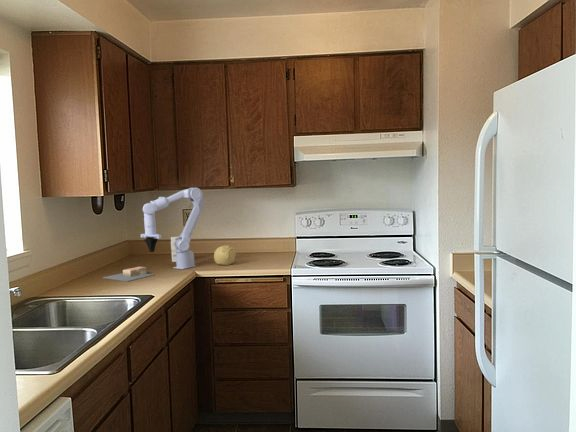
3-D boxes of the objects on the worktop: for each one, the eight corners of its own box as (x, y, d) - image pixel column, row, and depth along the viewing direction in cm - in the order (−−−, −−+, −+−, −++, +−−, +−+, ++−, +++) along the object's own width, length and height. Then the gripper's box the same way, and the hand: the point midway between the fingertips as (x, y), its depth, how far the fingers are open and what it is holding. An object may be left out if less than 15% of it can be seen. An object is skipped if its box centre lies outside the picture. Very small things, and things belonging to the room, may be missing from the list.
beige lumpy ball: (230, 266, 268) (229, 246, 267) (210, 266, 272) (209, 246, 271) (239, 262, 279) (238, 243, 278) (220, 262, 283) (219, 243, 282)
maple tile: (139, 266, 260) (122, 269, 252) (146, 267, 257) (130, 270, 249) (139, 272, 260) (123, 275, 252) (146, 273, 257) (130, 276, 249)
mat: (129, 272, 264) (129, 271, 264) (154, 275, 252) (154, 274, 252) (102, 278, 251) (102, 277, 251) (127, 281, 239) (127, 280, 239)
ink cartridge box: (186, 259, 297) (185, 235, 296) (186, 261, 293) (185, 236, 291) (172, 260, 296) (170, 236, 295) (171, 262, 291) (170, 237, 290)
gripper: (135, 226, 263) (136, 252, 264) (153, 227, 254) (154, 253, 255) (146, 225, 269) (147, 250, 270) (163, 225, 260) (165, 251, 261)
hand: (151, 251), depth 263 cm, fingers closed
